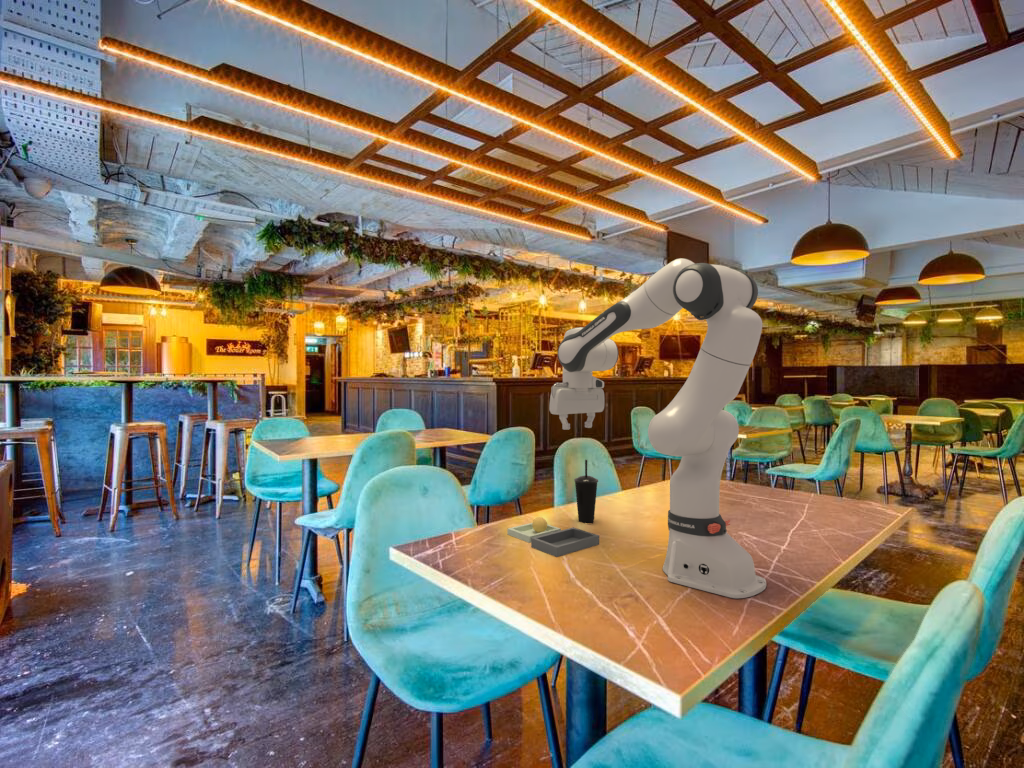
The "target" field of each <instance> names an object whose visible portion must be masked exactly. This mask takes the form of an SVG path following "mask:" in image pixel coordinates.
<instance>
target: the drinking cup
mask: <svg viewBox="0 0 1024 768" xmlns="http://www.w3.org/2000/svg"><path fill="white" fill-rule="evenodd" d="M573 481H574V483H575V485H574V486H575V494H576V495H575V496H576V507H577V517H578V518H577V519H578V522H579V523H582V524H585V523H592V524H593V522H595V512H596V503H597V502H596V500H597V491H598V482H599V479H598V478H595V477H594V476H591V475H588V459H585V460H584V475H580V476H578V477H575V478H574V479H573Z"/></svg>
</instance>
